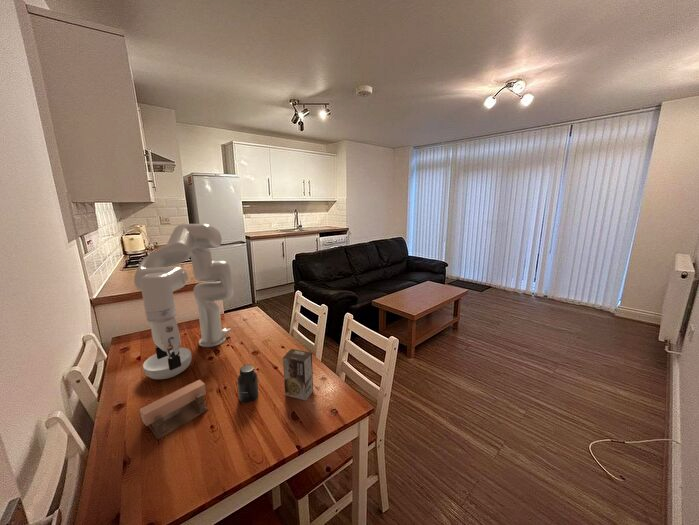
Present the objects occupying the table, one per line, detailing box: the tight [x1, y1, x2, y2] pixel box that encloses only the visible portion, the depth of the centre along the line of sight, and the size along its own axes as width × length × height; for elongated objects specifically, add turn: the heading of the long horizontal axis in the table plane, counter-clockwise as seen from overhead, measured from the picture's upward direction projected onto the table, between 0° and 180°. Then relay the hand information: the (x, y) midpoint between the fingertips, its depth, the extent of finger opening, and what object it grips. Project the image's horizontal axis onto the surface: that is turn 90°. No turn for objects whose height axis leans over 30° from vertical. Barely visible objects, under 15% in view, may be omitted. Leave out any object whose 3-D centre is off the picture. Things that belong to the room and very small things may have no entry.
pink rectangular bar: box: [139, 379, 207, 427], centre depth 91 cm, size 18×4×4 cm, turn 143°
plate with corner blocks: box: [144, 383, 209, 440], centre depth 91 cm, size 15×11×6 cm
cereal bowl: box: [142, 347, 192, 380], centre depth 114 cm, size 17×17×7 cm
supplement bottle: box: [237, 364, 259, 404], centre depth 100 cm, size 7×7×12 cm
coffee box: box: [282, 348, 314, 401], centre depth 101 cm, size 9×6×16 cm
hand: (169, 362), depth 87 cm, fingers open, 9 cm apart
